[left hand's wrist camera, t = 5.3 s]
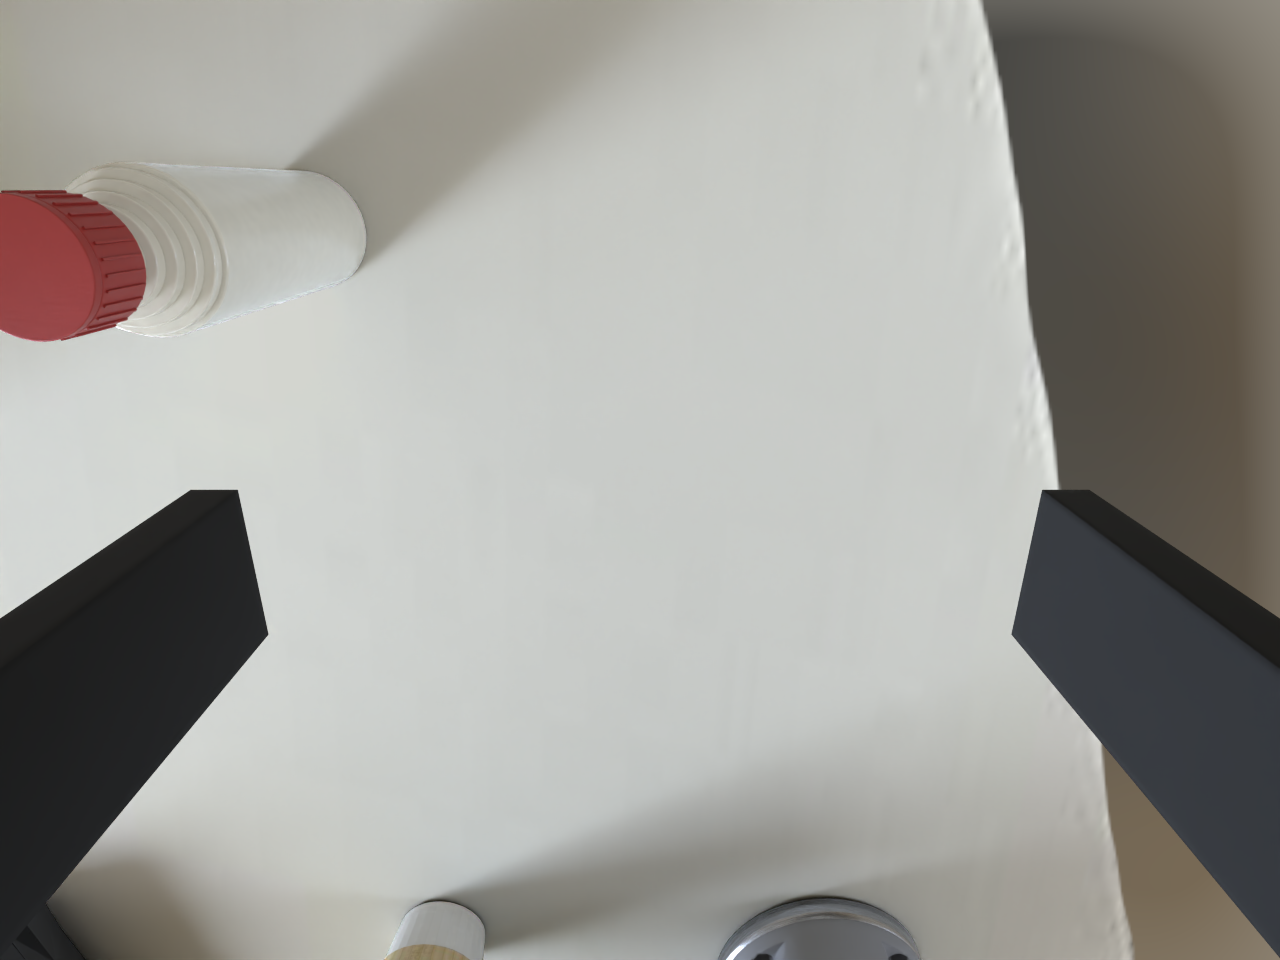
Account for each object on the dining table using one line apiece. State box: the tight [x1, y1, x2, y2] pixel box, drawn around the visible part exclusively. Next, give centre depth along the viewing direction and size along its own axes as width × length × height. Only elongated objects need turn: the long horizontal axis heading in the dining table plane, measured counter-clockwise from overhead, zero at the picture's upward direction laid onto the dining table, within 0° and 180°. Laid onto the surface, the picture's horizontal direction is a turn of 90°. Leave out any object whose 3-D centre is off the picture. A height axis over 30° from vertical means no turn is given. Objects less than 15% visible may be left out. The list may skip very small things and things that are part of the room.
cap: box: [0, 190, 146, 342], centre depth 21 cm, size 4×4×2 cm
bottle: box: [64, 162, 366, 338], centre depth 29 cm, size 6×6×18 cm
